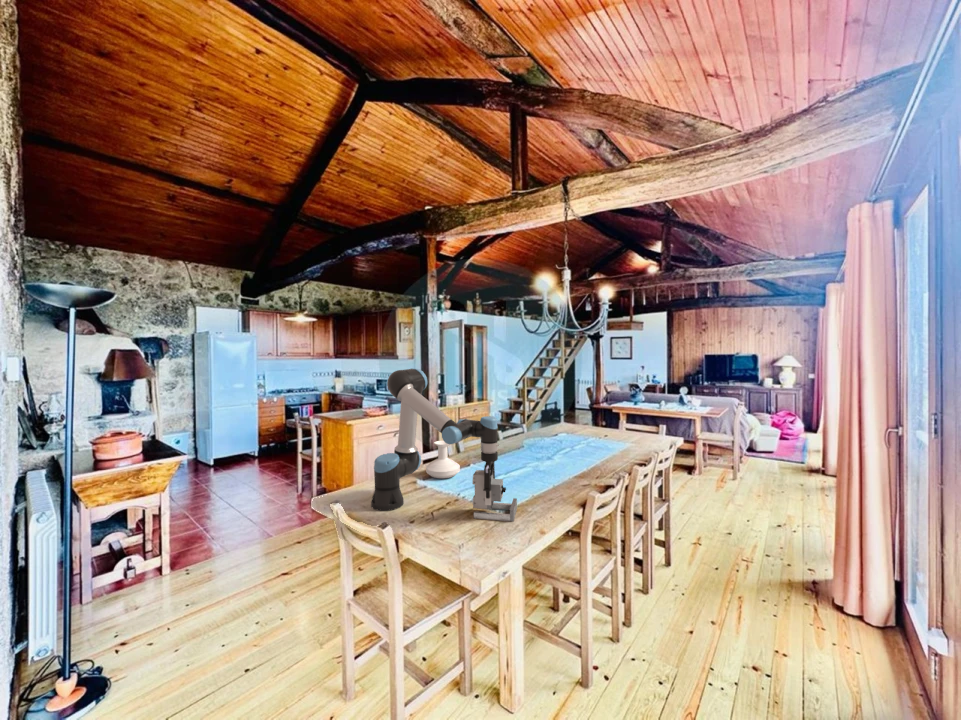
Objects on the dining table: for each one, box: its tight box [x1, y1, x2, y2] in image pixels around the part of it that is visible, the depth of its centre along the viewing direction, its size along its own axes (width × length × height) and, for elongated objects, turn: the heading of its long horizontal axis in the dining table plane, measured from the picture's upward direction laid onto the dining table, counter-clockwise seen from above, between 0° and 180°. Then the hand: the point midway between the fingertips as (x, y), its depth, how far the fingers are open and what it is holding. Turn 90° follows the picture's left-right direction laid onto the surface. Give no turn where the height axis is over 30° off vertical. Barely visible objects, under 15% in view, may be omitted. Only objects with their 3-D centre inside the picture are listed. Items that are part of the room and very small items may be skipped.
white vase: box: [425, 440, 461, 479], centre depth 237 cm, size 20×20×19 cm
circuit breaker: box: [472, 469, 507, 510], centre depth 184 cm, size 8×14×15 cm, turn 78°
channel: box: [473, 497, 518, 522], centre depth 184 cm, size 18×13×5 cm
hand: (489, 501), depth 184 cm, fingers closed on circuit breaker, 7 cm apart
